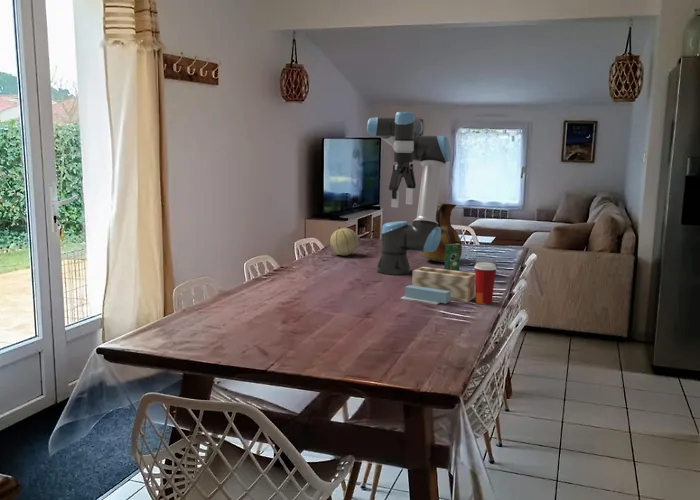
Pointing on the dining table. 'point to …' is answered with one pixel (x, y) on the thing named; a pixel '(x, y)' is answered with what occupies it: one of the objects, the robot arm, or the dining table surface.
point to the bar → (427, 294)
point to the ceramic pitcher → (444, 233)
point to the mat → (419, 300)
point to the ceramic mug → (484, 262)
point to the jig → (447, 282)
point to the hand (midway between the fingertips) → (402, 205)
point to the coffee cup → (484, 282)
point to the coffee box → (452, 257)
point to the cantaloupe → (344, 241)
